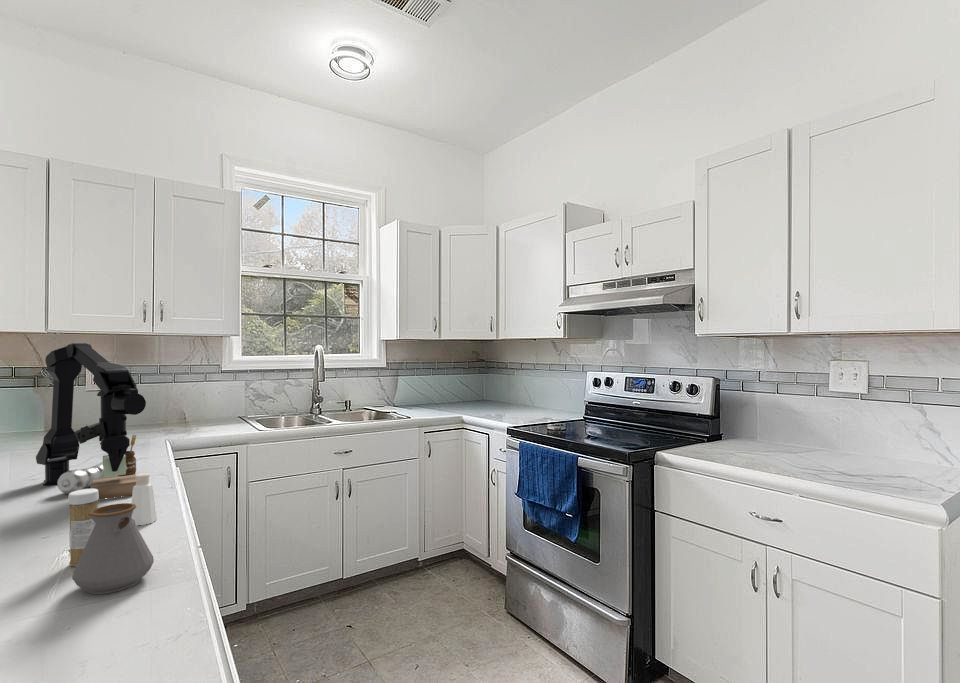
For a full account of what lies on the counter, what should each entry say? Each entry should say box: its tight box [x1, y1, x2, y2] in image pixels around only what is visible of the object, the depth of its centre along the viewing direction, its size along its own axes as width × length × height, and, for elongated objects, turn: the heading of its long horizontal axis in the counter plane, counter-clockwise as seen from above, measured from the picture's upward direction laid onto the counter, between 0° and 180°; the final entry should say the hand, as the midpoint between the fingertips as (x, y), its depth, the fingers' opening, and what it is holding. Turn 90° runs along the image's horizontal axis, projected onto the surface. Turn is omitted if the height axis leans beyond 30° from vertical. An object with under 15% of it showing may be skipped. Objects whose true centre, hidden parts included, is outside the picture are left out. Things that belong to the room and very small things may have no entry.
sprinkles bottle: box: [67, 488, 99, 567], centre depth 100 cm, size 5×5×14 cm
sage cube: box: [102, 454, 126, 477], centre depth 147 cm, size 5×5×5 cm
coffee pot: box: [72, 502, 155, 595], centre depth 87 cm, size 21×12×15 cm, turn 40°
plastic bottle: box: [56, 461, 127, 495], centre depth 155 cm, size 6×7×20 cm
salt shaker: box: [131, 472, 158, 527], centre depth 123 cm, size 5×5×11 cm
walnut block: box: [90, 474, 137, 501], centre depth 147 cm, size 10×10×4 cm
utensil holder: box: [117, 434, 137, 477], centre depth 169 cm, size 6×6×12 cm
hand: (114, 469), depth 147 cm, fingers closed on sage cube, 5 cm apart
